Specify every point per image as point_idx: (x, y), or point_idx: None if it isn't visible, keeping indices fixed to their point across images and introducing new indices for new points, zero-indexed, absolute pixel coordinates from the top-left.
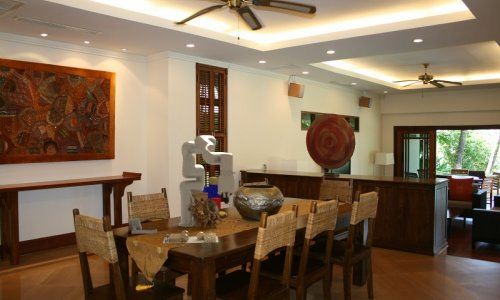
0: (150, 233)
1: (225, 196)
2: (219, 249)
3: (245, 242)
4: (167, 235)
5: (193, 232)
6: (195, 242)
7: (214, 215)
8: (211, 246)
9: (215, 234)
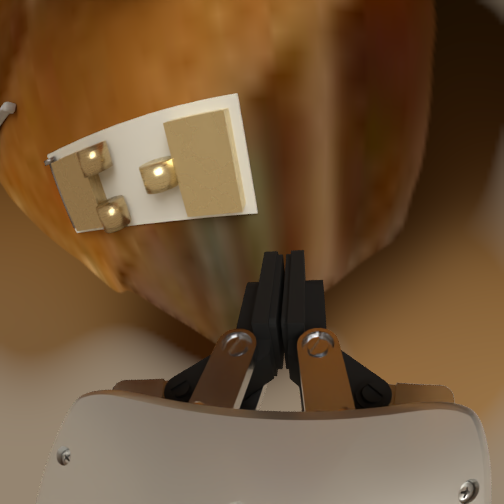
0: (6, 116)
1: (264, 387)
2: None
3: (381, 210)
4: (49, 163)
5: (109, 31)
6: (162, 220)
7: None
8: (236, 263)
9: (229, 148)
